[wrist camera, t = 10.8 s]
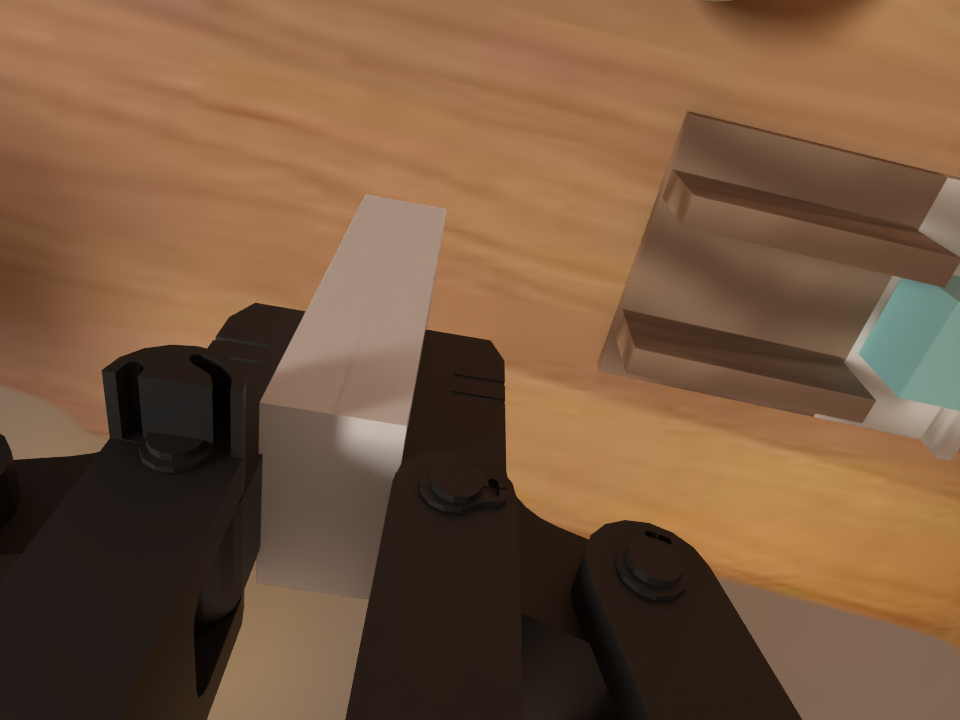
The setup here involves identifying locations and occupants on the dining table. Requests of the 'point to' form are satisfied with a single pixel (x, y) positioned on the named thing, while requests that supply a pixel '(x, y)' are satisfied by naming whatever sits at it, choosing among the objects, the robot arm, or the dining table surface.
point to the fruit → (716, 0)
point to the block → (919, 343)
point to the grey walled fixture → (784, 276)
